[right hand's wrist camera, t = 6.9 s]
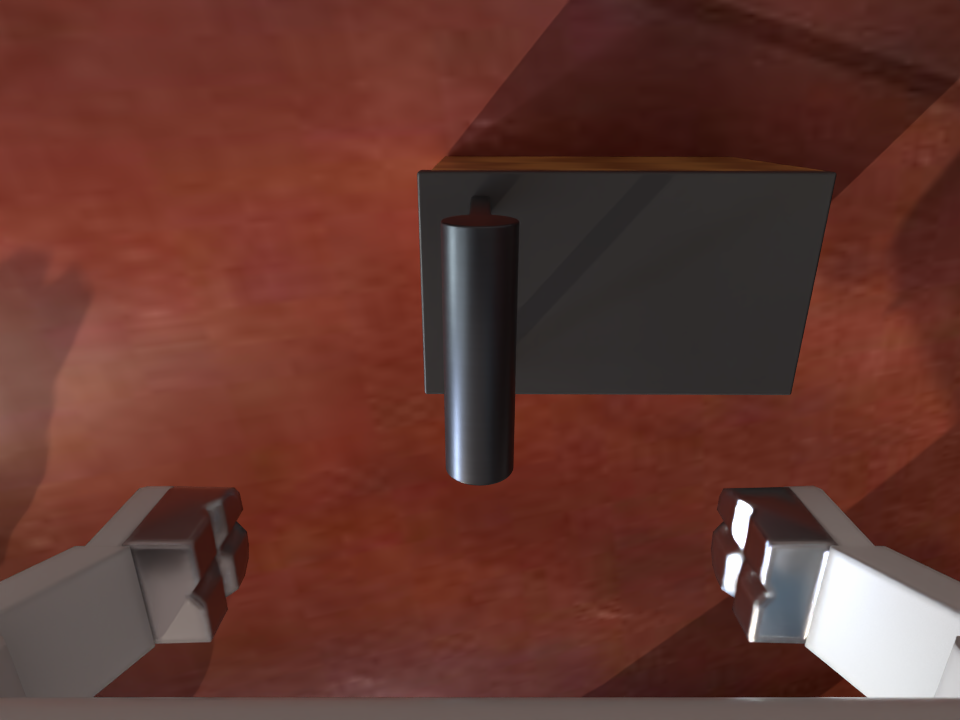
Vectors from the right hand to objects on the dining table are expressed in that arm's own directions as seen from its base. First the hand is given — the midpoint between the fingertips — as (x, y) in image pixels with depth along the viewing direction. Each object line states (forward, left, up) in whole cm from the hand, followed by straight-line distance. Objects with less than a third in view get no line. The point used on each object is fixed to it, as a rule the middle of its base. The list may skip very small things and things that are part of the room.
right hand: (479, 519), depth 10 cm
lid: (+2, +5, -16) cm, 16 cm away
